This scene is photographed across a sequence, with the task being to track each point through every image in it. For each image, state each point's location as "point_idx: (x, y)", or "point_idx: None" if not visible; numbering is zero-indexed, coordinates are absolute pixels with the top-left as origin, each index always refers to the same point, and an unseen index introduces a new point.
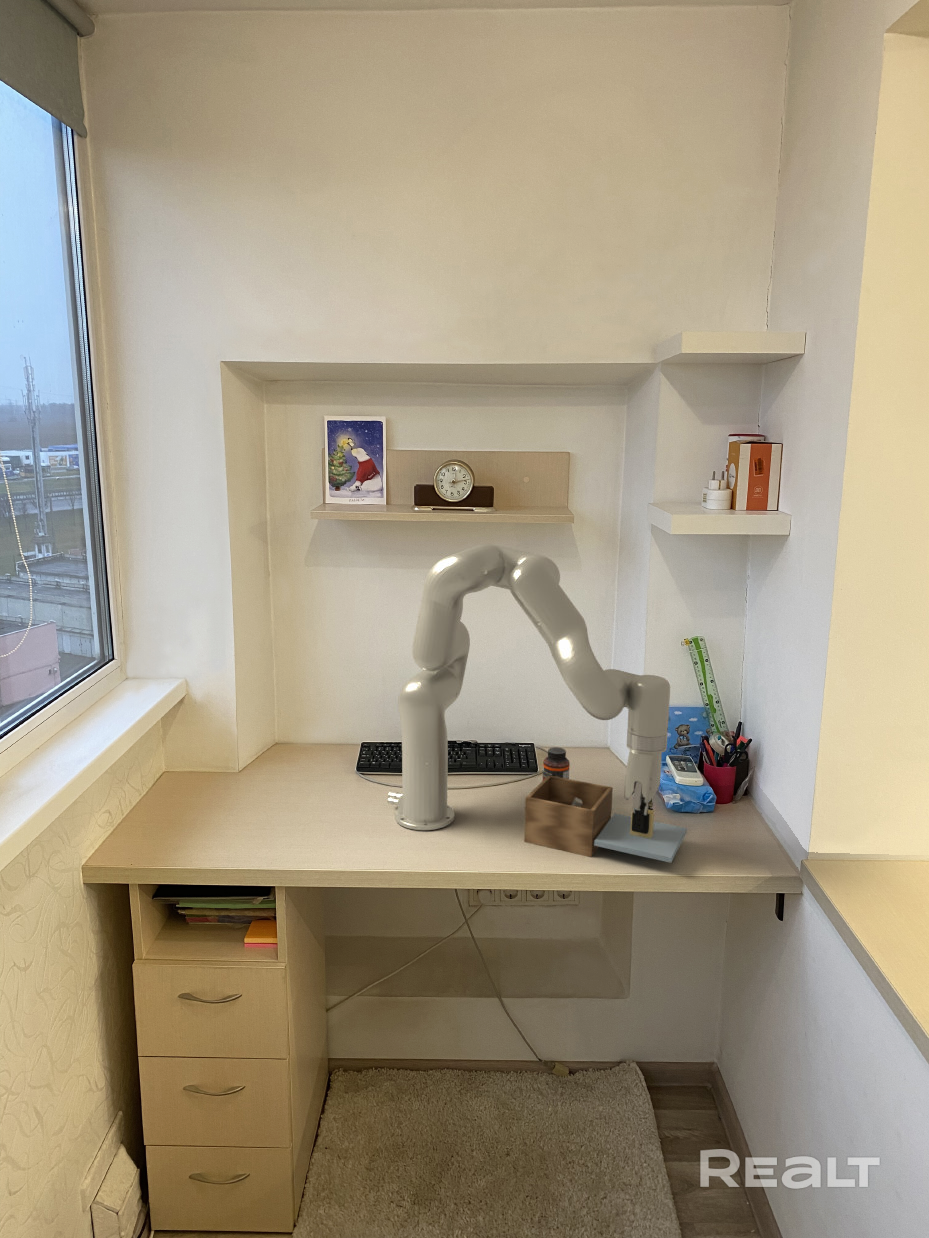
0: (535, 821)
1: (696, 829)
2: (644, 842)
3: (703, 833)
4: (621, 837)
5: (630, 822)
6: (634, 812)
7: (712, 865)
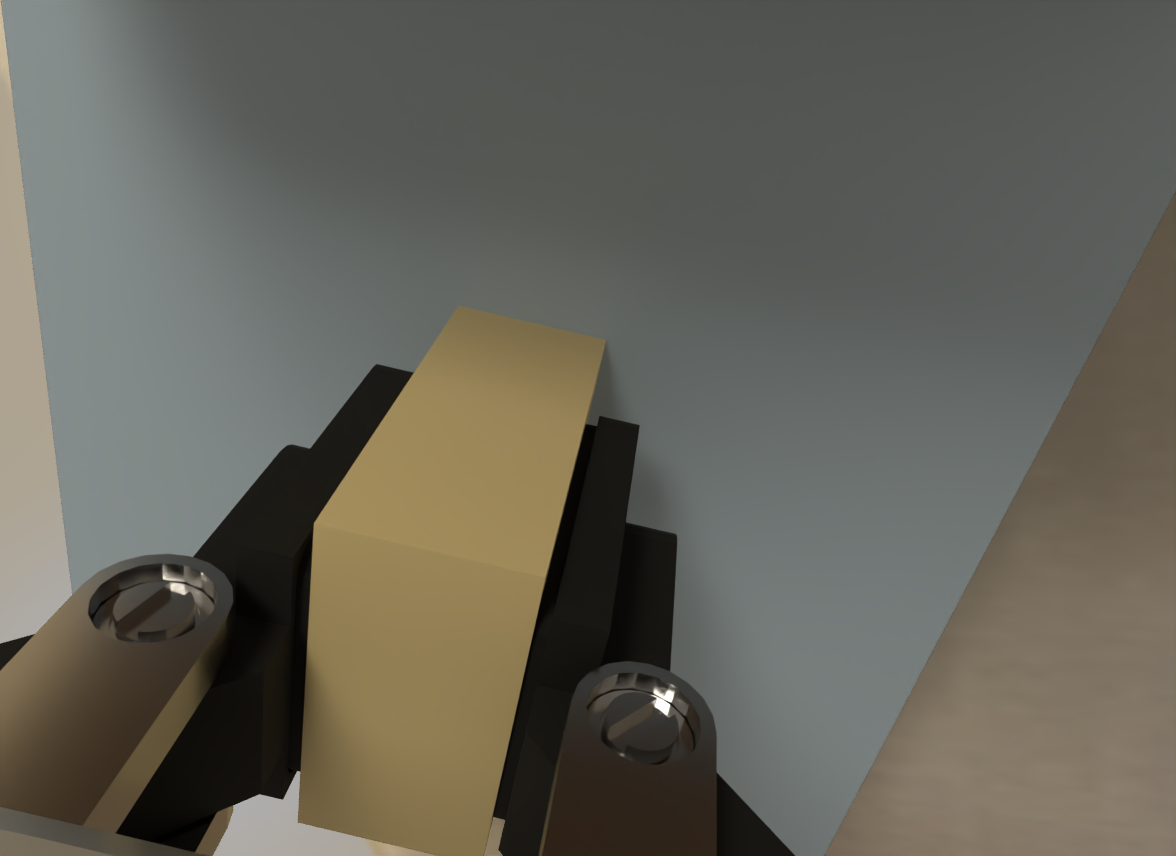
0: None
1: (1154, 816)
2: None
3: (1067, 850)
4: (300, 184)
5: (871, 301)
6: (111, 599)
7: (492, 833)
